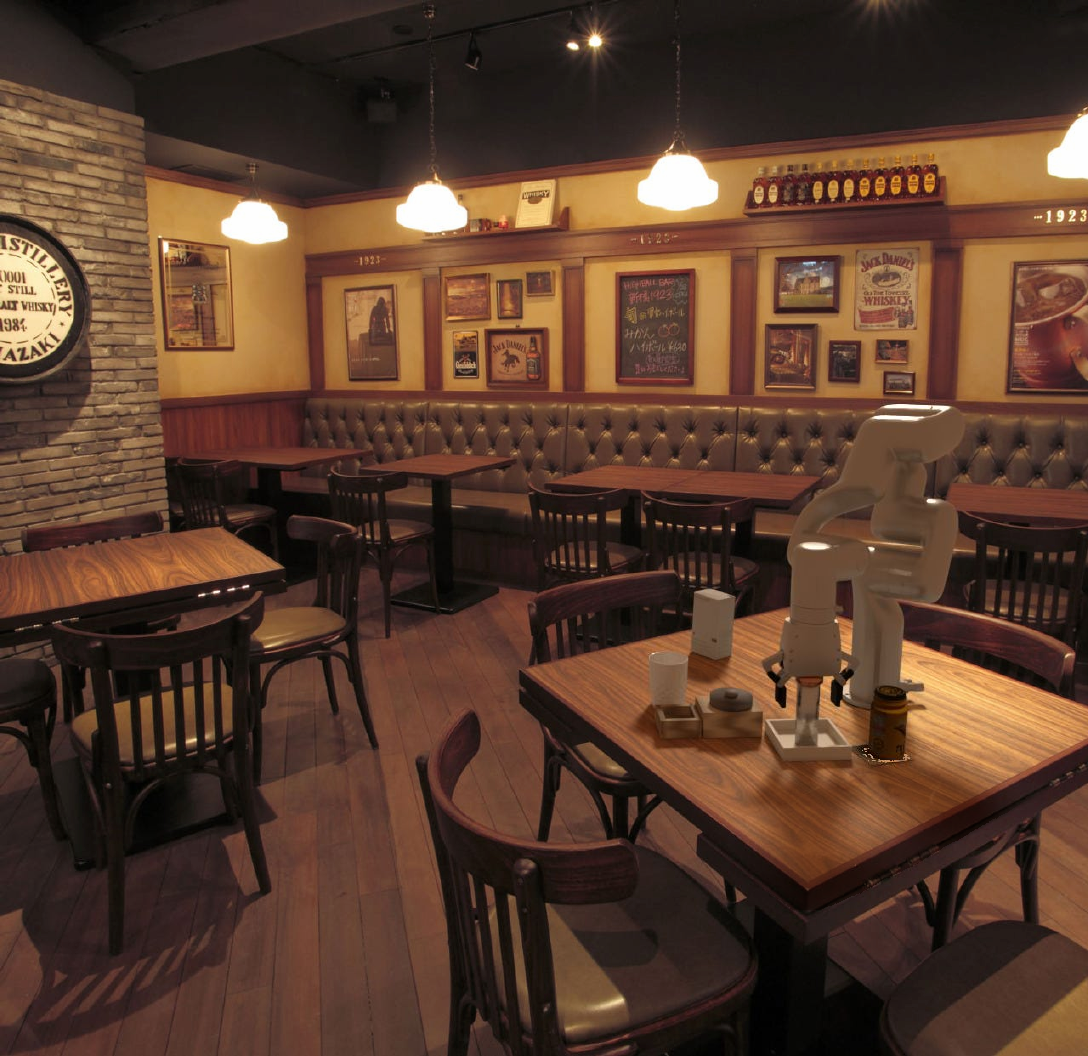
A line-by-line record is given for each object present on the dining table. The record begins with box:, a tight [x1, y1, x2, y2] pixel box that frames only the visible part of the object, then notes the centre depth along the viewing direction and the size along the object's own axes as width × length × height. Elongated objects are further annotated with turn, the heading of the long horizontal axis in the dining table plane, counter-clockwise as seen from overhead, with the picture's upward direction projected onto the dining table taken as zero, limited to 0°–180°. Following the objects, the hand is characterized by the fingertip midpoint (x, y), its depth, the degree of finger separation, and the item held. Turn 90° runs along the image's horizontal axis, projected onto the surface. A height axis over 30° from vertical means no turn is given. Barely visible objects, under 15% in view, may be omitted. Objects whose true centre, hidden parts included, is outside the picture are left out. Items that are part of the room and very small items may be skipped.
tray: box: [764, 717, 853, 762], centre depth 157 cm, size 12×12×2 cm
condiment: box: [851, 685, 916, 766], centre depth 152 cm, size 7×8×12 cm
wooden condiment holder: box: [654, 686, 764, 740], centre depth 164 cm, size 19×8×7 cm, turn 91°
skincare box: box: [690, 588, 736, 661], centre depth 204 cm, size 8×6×15 cm
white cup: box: [648, 650, 689, 708], centre depth 175 cm, size 8×8×10 cm
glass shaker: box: [794, 677, 824, 746], centre depth 155 cm, size 5×5×13 cm
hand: (808, 704), depth 156 cm, fingers open, 9 cm apart
